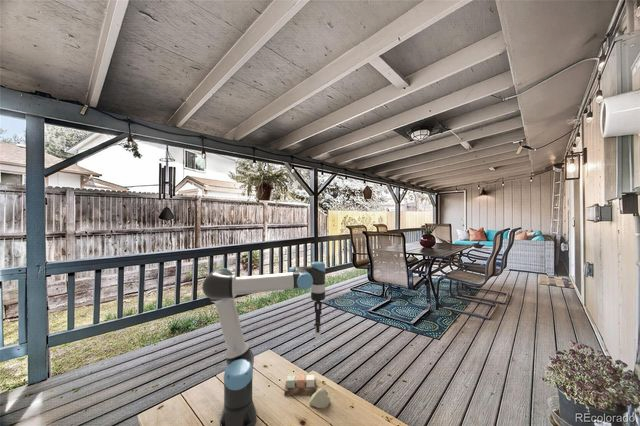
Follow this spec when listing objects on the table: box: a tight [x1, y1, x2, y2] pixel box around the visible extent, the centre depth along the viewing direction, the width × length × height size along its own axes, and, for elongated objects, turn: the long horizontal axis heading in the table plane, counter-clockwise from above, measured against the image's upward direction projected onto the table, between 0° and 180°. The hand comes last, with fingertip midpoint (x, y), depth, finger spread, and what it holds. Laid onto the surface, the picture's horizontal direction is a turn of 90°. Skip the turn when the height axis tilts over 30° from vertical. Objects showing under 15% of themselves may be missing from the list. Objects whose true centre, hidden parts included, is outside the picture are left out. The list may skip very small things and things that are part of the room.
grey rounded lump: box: [309, 387, 331, 409], centre depth 115 cm, size 8×8×8 cm
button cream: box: [305, 374, 315, 388], centre depth 125 cm, size 4×4×4 cm
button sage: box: [286, 374, 296, 389], centre depth 125 cm, size 4×4×4 cm
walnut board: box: [283, 379, 317, 396], centre depth 125 cm, size 16×8×2 cm, turn 92°
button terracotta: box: [296, 374, 306, 388], centre depth 125 cm, size 4×4×4 cm
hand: (317, 332), depth 128 cm, fingers open, 13 cm apart
